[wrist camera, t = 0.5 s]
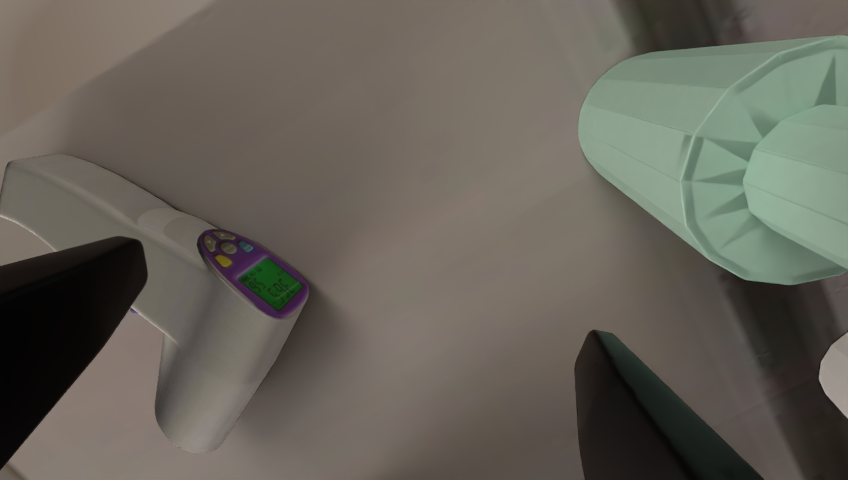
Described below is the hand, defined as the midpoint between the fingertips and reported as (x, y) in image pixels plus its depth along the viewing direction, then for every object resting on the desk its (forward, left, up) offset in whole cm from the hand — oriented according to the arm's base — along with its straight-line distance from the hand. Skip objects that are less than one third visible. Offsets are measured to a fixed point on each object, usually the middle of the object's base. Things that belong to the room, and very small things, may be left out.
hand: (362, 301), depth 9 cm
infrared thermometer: (-9, +14, -15) cm, 22 cm away
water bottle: (+3, -10, -14) cm, 18 cm away
